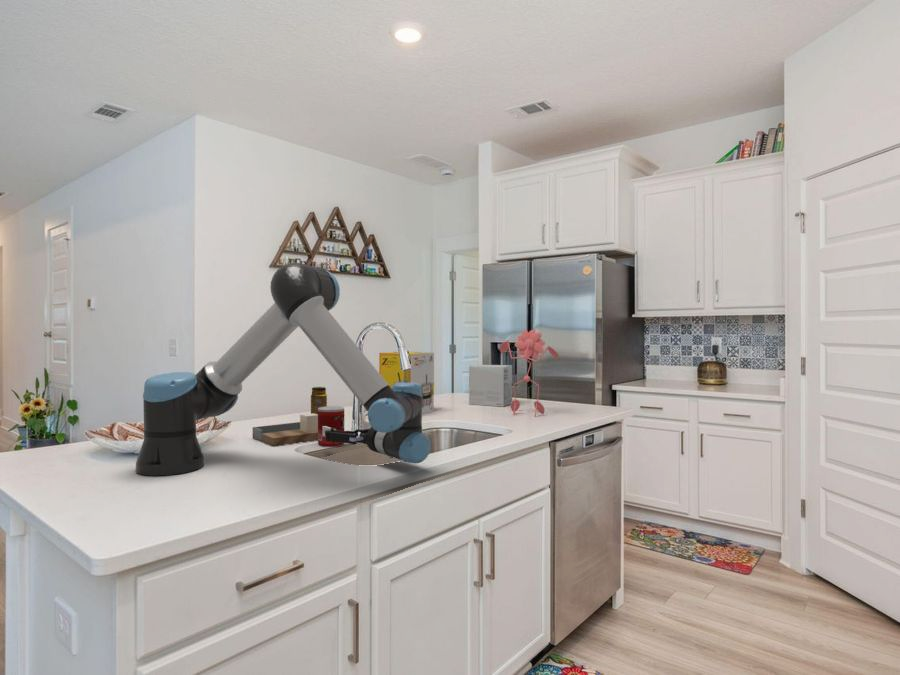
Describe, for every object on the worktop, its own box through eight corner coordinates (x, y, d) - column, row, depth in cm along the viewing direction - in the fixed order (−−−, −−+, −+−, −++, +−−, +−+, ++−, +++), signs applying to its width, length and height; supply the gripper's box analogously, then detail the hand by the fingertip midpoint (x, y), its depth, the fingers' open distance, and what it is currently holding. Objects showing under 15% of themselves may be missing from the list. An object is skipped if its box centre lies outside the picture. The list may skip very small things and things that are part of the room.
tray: (261, 441, 172) (261, 430, 172) (252, 438, 178) (252, 427, 178) (320, 434, 185) (320, 423, 185) (310, 430, 191) (310, 420, 191)
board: (273, 446, 165) (273, 438, 165) (261, 441, 172) (261, 433, 172) (333, 438, 178) (333, 430, 178) (320, 434, 185) (320, 426, 185)
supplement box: (512, 403, 263) (513, 365, 263) (503, 407, 251) (504, 366, 251) (478, 401, 270) (478, 363, 270) (468, 404, 258) (468, 365, 258)
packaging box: (411, 416, 222) (411, 353, 222) (379, 413, 231) (379, 352, 230) (433, 411, 236) (434, 352, 235) (402, 408, 244) (403, 351, 244)
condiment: (330, 417, 220) (330, 386, 220) (321, 420, 212) (321, 389, 212) (313, 416, 222) (313, 386, 221) (303, 420, 213) (303, 388, 213)
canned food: (338, 447, 165) (338, 410, 165) (313, 446, 167) (313, 409, 166) (348, 442, 172) (348, 406, 172) (324, 441, 174) (324, 405, 174)
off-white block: (306, 432, 175) (306, 416, 175) (300, 430, 178) (300, 414, 178) (319, 430, 178) (319, 415, 178) (313, 428, 181) (313, 413, 181)
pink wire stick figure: (555, 418, 219) (556, 329, 220) (493, 413, 231) (494, 329, 231) (565, 414, 233) (566, 330, 233) (506, 410, 245) (507, 329, 245)
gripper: (343, 460, 140) (305, 446, 156) (422, 447, 156) (380, 435, 172) (343, 430, 139) (305, 419, 156) (423, 420, 155) (380, 411, 172)
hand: (344, 428), depth 164 cm, fingers open, 13 cm apart
